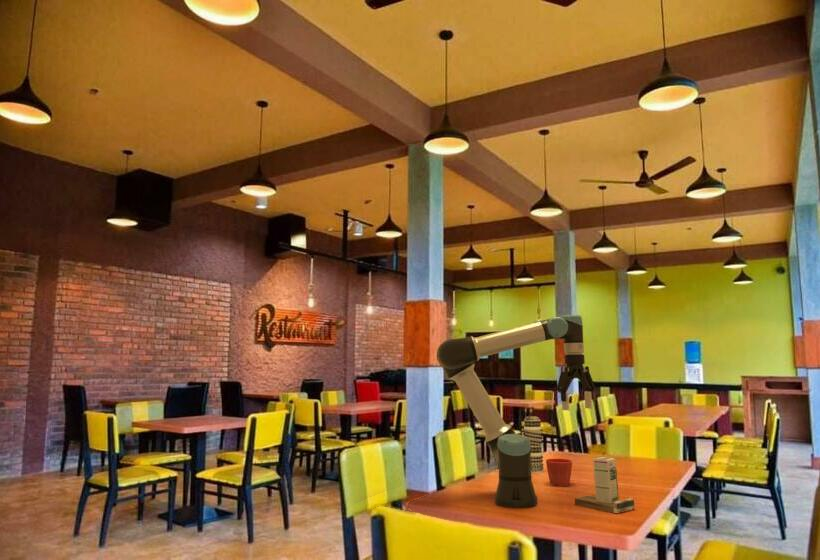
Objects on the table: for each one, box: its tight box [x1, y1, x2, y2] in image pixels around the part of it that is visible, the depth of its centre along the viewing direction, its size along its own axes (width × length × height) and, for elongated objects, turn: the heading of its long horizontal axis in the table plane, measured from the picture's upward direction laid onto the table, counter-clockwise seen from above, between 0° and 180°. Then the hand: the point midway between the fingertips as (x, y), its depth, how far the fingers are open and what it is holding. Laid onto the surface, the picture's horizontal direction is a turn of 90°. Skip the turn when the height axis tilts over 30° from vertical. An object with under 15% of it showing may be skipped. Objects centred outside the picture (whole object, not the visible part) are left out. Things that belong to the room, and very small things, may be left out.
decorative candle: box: [522, 415, 544, 474], centre depth 273 cm, size 9×9×25 cm
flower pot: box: [545, 458, 573, 487], centre depth 242 cm, size 11×11×10 cm
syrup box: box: [593, 456, 620, 504], centre depth 202 cm, size 6×6×14 cm
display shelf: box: [574, 494, 636, 514], centre depth 202 cm, size 10×17×4 cm, turn 36°
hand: (577, 409), depth 226 cm, fingers open, 13 cm apart
